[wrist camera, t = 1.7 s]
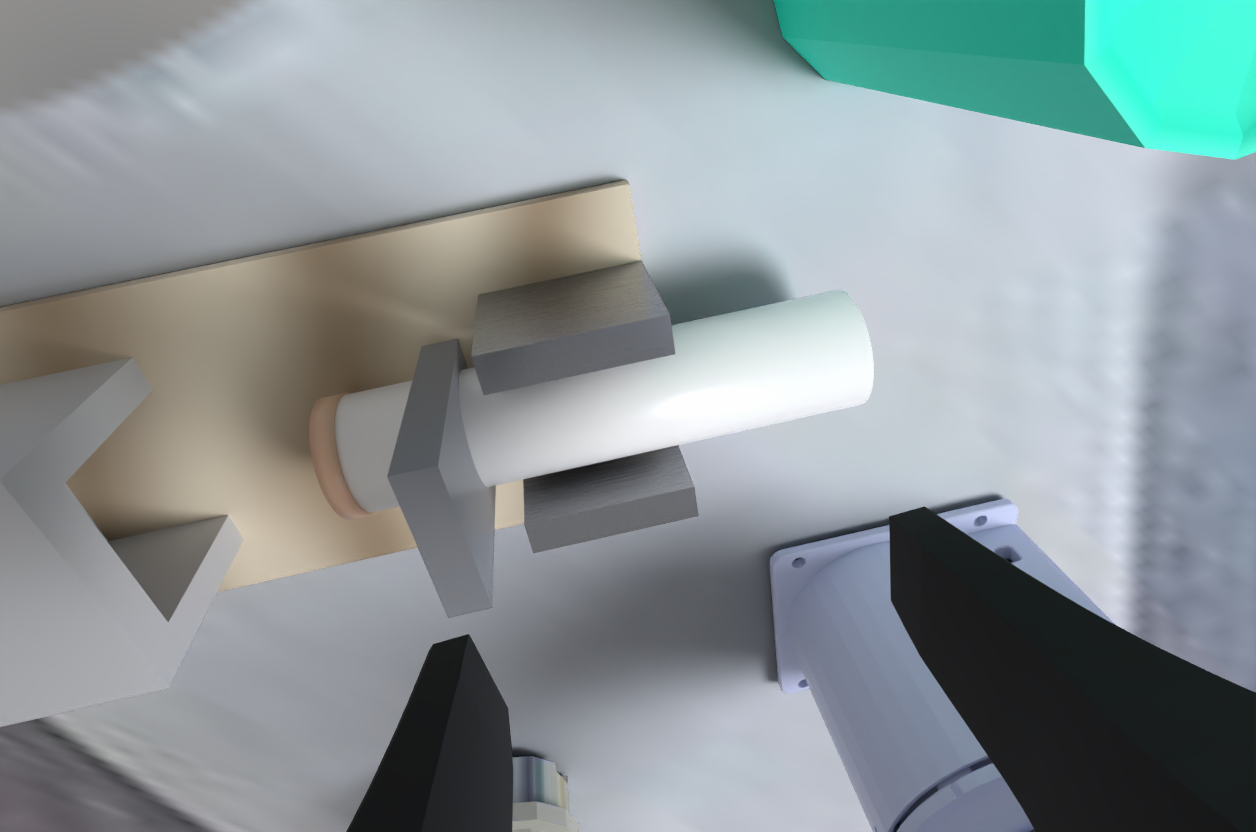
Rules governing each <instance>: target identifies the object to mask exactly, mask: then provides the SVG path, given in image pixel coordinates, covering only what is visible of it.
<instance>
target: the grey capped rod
mask: <svg viewBox="0 0 1256 832" xmlns="http://www.w3.org/2000/svg"><path fill="white" fill-rule="evenodd" d="M512 759H513V820H512V832H579V823H578V822H577V820H576V819H575V818H574V817H573V816H572V815H571V814H570V813H569V797H568V779H567V776H560V774H559V773H558V772H557V771H556V763H554V762H551V761H547V760H544V759H540V758H537V757H534V756H528V757H512Z"/></svg>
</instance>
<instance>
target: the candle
mask: <svg viewBox="0 0 1256 832" xmlns="http://www.w3.org/2000/svg"><path fill="white" fill-rule="evenodd" d="M773 1H774V5H775V9H776V13H777V17H778V21H779V25H780V29H781V33H782V37H783V38H784V39H785V40H786V41H787V42H788V43H789V44H790V45H791V46H792V47H793V48H794V49H795V50H796V51H797V52H798V53H799V54H800V55H801V56H802V57H803V58H804V59H805V60H806V61H807V62H808V63H809V64H810V65H811V66H812V67H813V68H814V69H815V70H816V71H817V72H818V73H819V74H820V75H821V76H822V77H823V78H824V79H826V80H830V81H835V82H840V83H844V84H849V85H854V86H858V87H863V88H868V89H872V90H877V91H882V92H886V93H891V94H896V95H900V96H905V97H910V98H914V99H919V100H924V101H928V102H933V103H938V104H942V105H947V106H952V107H956V108H961V109H966V110H970V111H975V112H980V113H984V114H989V115H994V116H998V117H1003V118H1008V119H1012V120H1017V121H1022V122H1026V123H1031V124H1036V125H1040V126H1045V127H1050V128H1054V129H1059V130H1064V131H1068V132H1073V133H1078V134H1082V135H1087V136H1092V137H1096V138H1101V139H1106V140H1110V141H1115V142H1120V143H1124V144H1129V145H1134V146H1138V147H1143V148H1149V149H1157V150H1165V151H1173V152H1180V153H1188V154H1196V155H1204V156H1211V157H1219V158H1227V159H1235V160H1236V159H1238V158H1241V157H1244V156H1246V155H1249V154H1252V153H1254V152H1256V0H773Z"/></svg>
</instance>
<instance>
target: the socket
mask: <svg viewBox="0 0 1256 832" xmlns="http://www.w3.org/2000/svg"><path fill="white" fill-rule="evenodd" d="M151 391H152V388H151V387H150V385H149V383H148V382H147V380H146V378H145V377H144V375H143V373H142V372H141V370H140V368H139V367H138V365H137V364H136V362H135V360H134V359H133V357H132V358H127V359H122V360H117V361H112V362H108V363H103V364H98V365H93V366H88V367H84V368H79V369H74V370H69V371H64V372H60V373H55V374H50V375H45V376H40V377H36V378H31V379H26V380H21V381H16V382H12V383H7V384H2V385H0V727H3V726H7V725H11V724H16V723H20V722H25V721H29V720H33V719H38V718H42V717H46V716H51V715H55V714H60V713H64V712H68V711H73V710H77V709H81V708H86V707H90V706H94V705H99V704H103V703H108V702H112V701H116V700H121V699H125V698H129V697H134V696H138V695H143V694H147V693H151V692H156V691H160V690H164V689H168V688H169V686H170V684H171V682H172V680H173V678H174V676H175V674H176V672H177V670H178V668H179V666H180V664H181V662H182V660H183V658H184V656H185V655H186V653H187V651H188V649H189V647H190V645H191V643H192V641H193V639H194V637H195V635H196V633H197V631H198V629H199V627H200V625H201V623H202V621H203V619H204V617H205V615H206V613H207V611H208V609H209V607H210V605H211V603H212V601H213V599H214V597H215V595H216V593H217V591H218V589H219V587H220V585H221V583H222V581H223V579H224V577H225V575H226V573H227V571H228V569H229V567H230V565H231V563H232V561H233V559H234V557H235V556H236V554H237V552H238V550H239V548H240V546H241V544H242V542H243V540H244V539H243V537H242V536H241V534H240V533H239V531H238V529H237V528H236V526H235V524H234V523H233V521H232V519H231V518H230V516H229V515H225V516H221V517H216V518H212V519H207V520H203V521H198V522H193V523H189V524H184V525H180V526H175V527H171V528H166V529H161V530H157V531H152V532H148V533H143V534H139V535H134V536H129V537H125V538H120V539H116V540H111V541H108V539H107V538H106V537H105V535H104V534H103V533H102V531H101V530H100V529H99V527H98V526H97V525H96V523H95V522H94V521H93V519H92V518H91V517H90V515H89V514H88V513H87V511H86V510H85V509H84V507H83V506H82V505H81V503H80V502H79V501H78V499H77V498H76V497H75V495H74V494H73V493H72V491H71V490H70V489H69V487H68V486H67V485H66V483H65V482H66V481H67V480H68V479H69V478H70V477H71V476H72V475H73V474H74V473H75V472H76V471H77V470H78V469H79V468H80V466H81V465H82V464H83V463H84V462H85V461H86V460H87V459H88V458H89V457H90V456H91V455H92V454H93V453H94V452H95V451H96V450H97V448H98V447H99V446H100V445H101V444H102V443H103V442H104V441H105V440H106V439H107V438H108V437H109V436H110V435H111V434H112V433H113V432H114V430H115V429H116V428H117V427H118V426H119V425H120V424H121V423H122V422H123V421H124V420H125V419H126V418H127V417H128V416H129V415H130V414H131V412H132V411H133V410H134V409H135V408H136V407H137V406H138V405H139V404H140V403H141V402H142V401H143V400H144V399H145V398H146V397H147V396H148V394H149V393H150V392H151Z"/></svg>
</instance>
